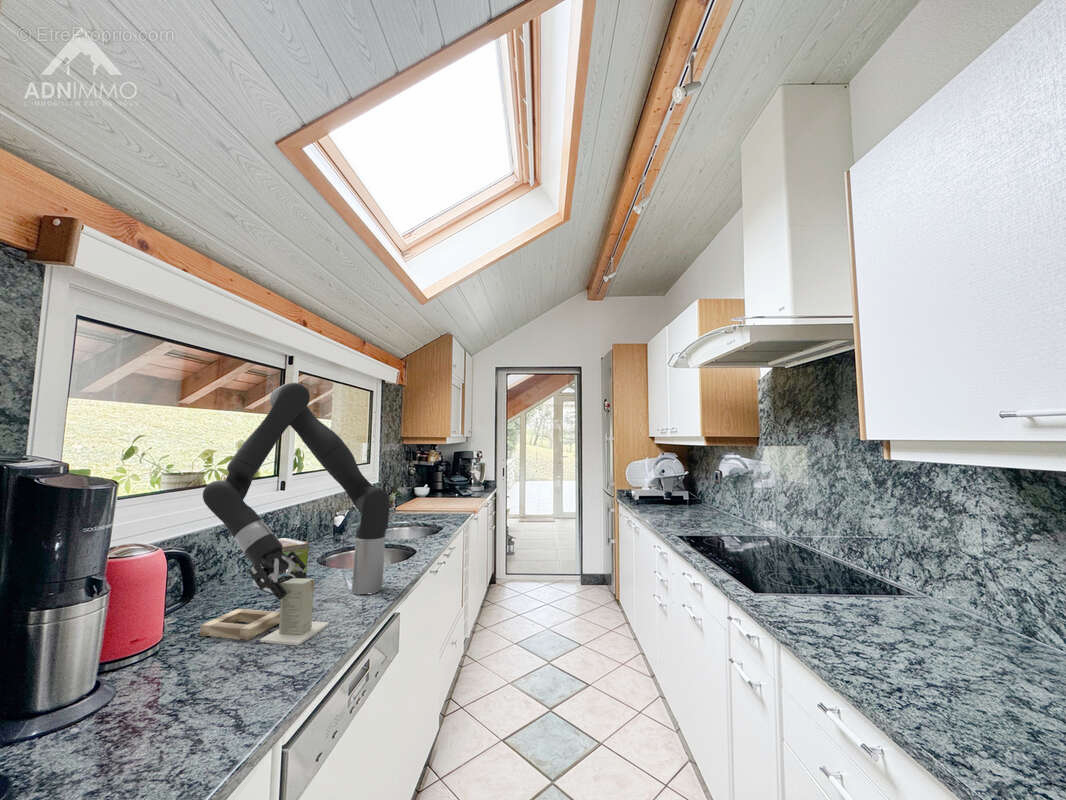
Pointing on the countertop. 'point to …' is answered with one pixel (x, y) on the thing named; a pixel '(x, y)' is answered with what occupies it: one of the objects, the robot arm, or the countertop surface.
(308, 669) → the countertop surface
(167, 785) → the countertop surface
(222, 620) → the frame
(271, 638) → the pad
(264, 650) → the countertop surface
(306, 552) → the tea box
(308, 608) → the skincare box
